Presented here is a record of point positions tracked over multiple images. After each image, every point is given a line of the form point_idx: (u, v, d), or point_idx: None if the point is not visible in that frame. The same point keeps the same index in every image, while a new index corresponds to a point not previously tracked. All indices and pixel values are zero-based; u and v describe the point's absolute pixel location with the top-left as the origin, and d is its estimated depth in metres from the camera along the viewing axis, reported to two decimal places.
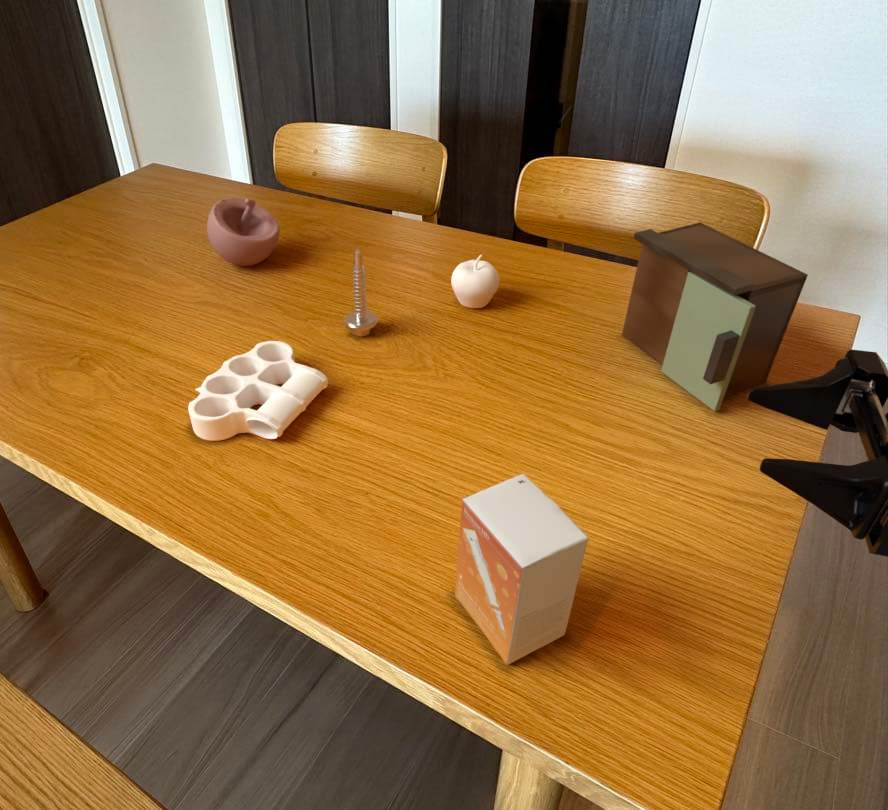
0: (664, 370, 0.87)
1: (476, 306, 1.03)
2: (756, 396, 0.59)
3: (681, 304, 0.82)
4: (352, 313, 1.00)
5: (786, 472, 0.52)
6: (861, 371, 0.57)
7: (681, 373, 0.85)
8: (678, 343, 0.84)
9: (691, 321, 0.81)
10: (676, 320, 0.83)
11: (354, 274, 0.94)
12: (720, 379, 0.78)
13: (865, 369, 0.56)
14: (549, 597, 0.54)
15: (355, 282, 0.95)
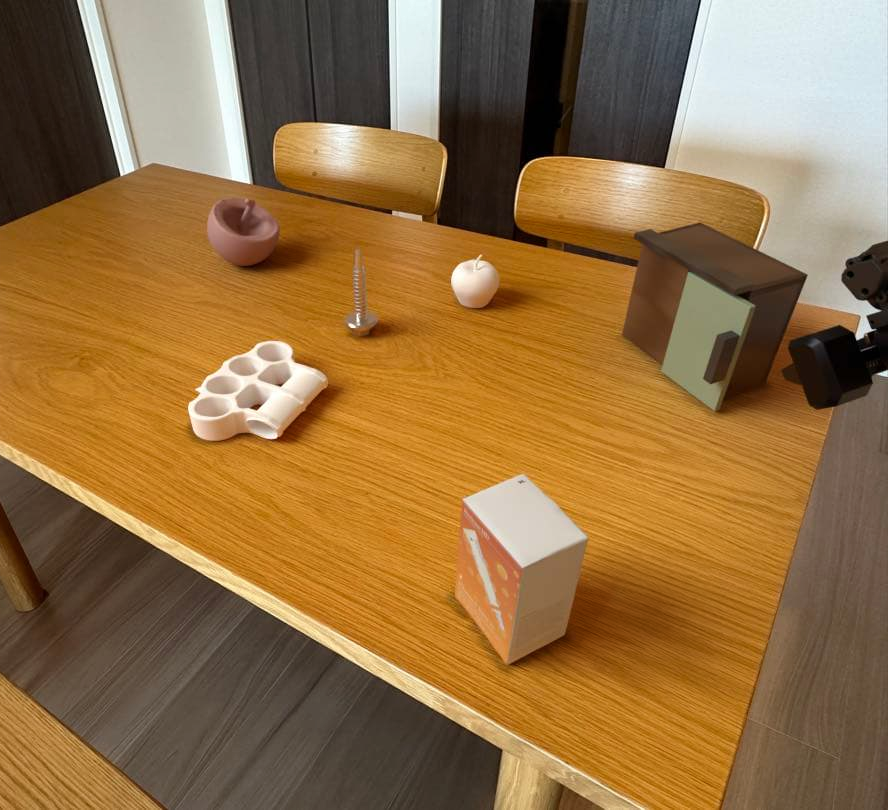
0: (664, 370, 0.87)
1: (476, 306, 1.03)
2: None
3: (681, 304, 0.82)
4: (352, 313, 1.00)
5: (791, 371, 0.65)
6: None
7: (681, 373, 0.85)
8: (678, 343, 0.84)
9: (691, 321, 0.81)
10: (676, 320, 0.83)
11: (354, 274, 0.94)
12: (720, 379, 0.78)
13: None
14: (549, 597, 0.54)
15: (355, 282, 0.95)
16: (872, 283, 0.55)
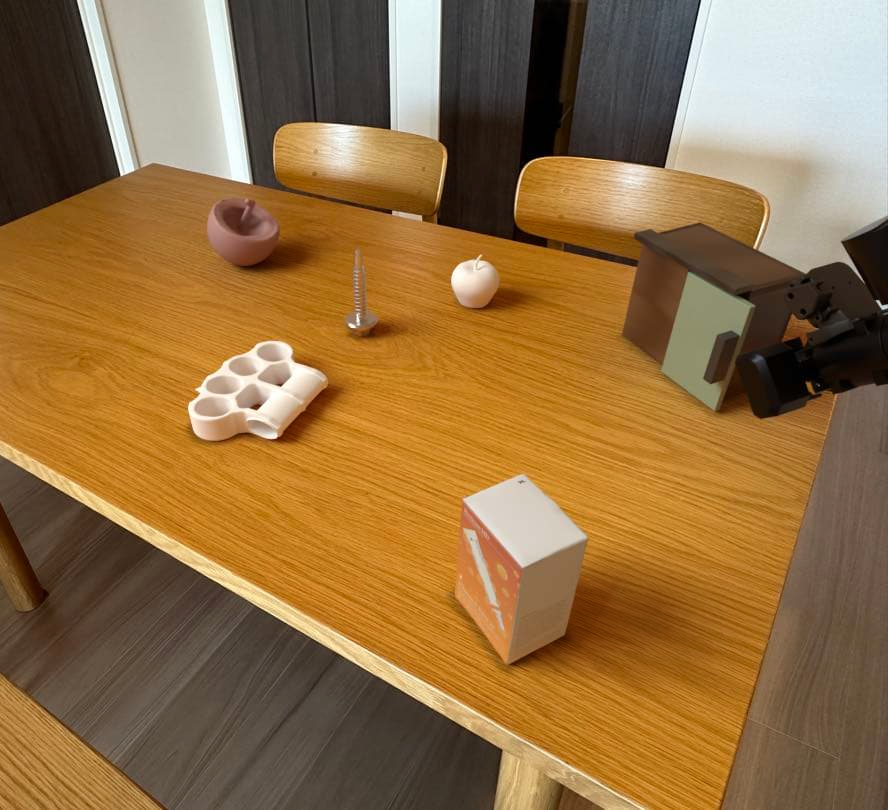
0: (664, 370, 0.87)
1: (476, 306, 1.03)
2: None
3: (681, 304, 0.82)
4: (352, 313, 1.00)
5: None
6: None
7: (681, 373, 0.85)
8: (678, 343, 0.84)
9: (691, 321, 0.81)
10: (676, 320, 0.83)
11: (354, 274, 0.94)
12: (720, 379, 0.78)
13: None
14: (549, 597, 0.54)
15: (355, 282, 0.95)
16: (809, 304, 0.61)
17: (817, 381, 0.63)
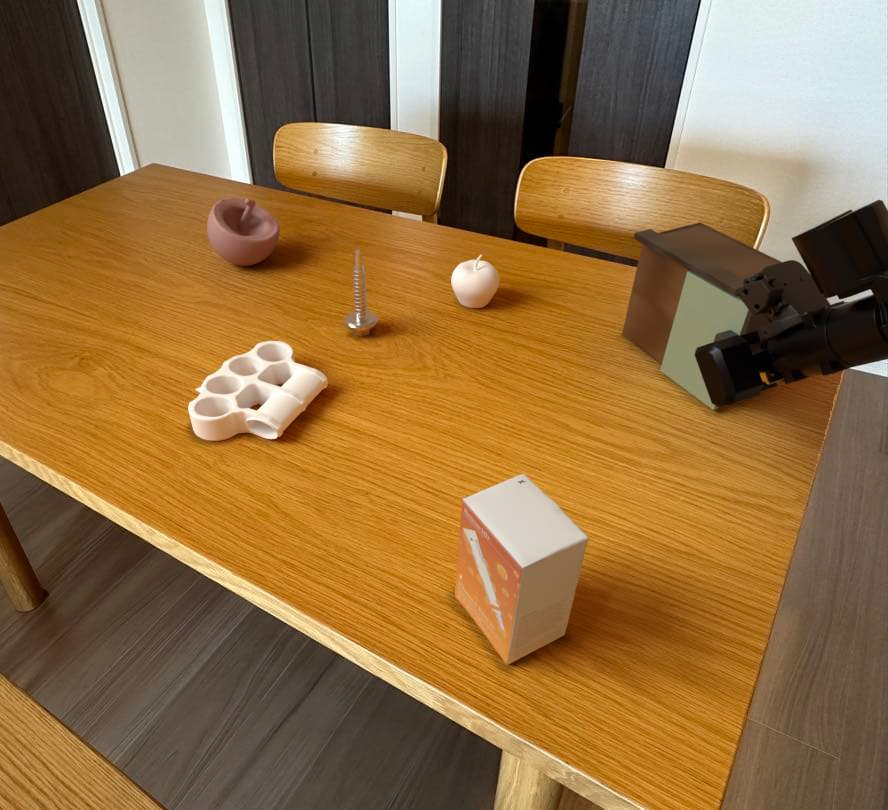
0: (663, 369, 0.87)
1: (476, 306, 1.03)
2: None
3: (680, 303, 0.82)
4: (352, 313, 1.00)
5: None
6: None
7: (680, 373, 0.85)
8: (677, 342, 0.84)
9: (690, 320, 0.81)
10: (675, 319, 0.83)
11: (354, 274, 0.94)
12: None
13: None
14: (549, 597, 0.54)
15: (355, 282, 0.95)
16: (762, 300, 0.65)
17: (771, 372, 0.68)
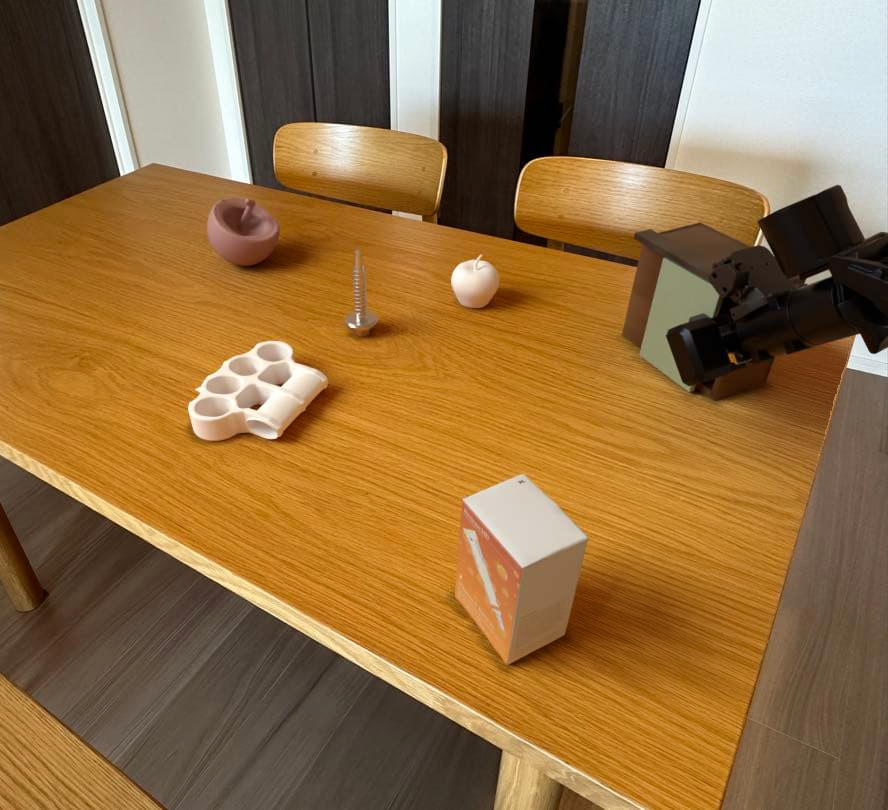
0: (642, 354, 0.90)
1: (476, 306, 1.03)
2: None
3: (657, 289, 0.85)
4: (352, 313, 1.00)
5: None
6: None
7: (658, 357, 0.88)
8: (655, 327, 0.87)
9: (666, 305, 0.84)
10: (652, 305, 0.86)
11: (354, 274, 0.94)
12: None
13: None
14: (549, 597, 0.54)
15: (355, 282, 0.95)
16: (729, 283, 0.68)
17: (740, 352, 0.71)
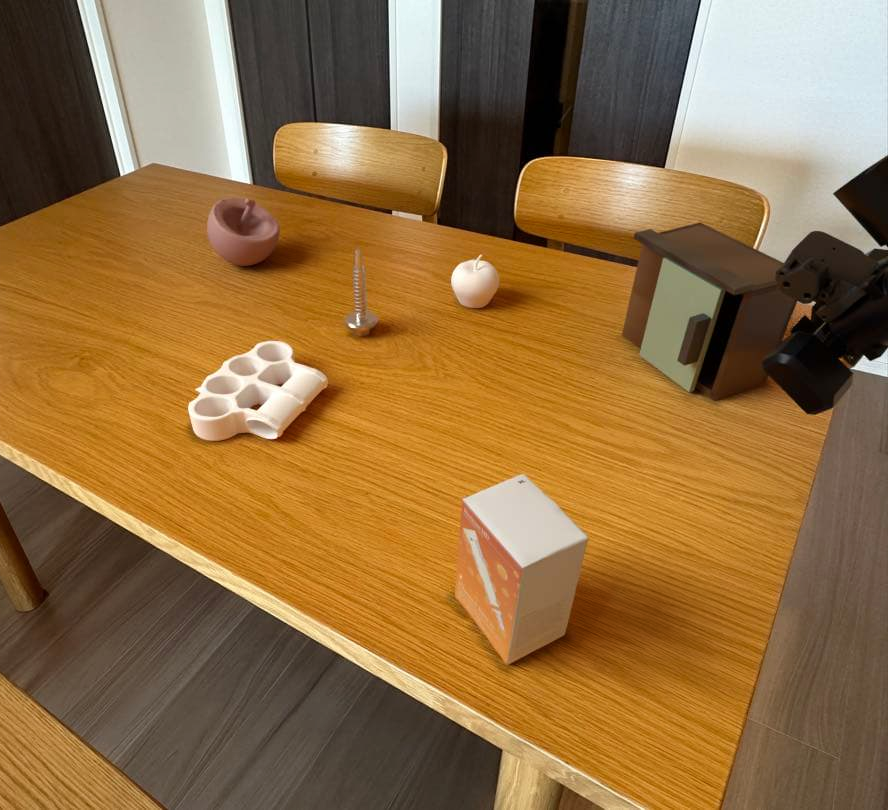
0: (642, 354, 0.90)
1: (476, 306, 1.03)
2: None
3: (657, 289, 0.85)
4: (352, 313, 1.00)
5: None
6: None
7: (658, 357, 0.88)
8: (655, 327, 0.87)
9: (666, 305, 0.84)
10: (652, 305, 0.86)
11: (354, 274, 0.94)
12: (694, 360, 0.81)
13: None
14: (549, 597, 0.54)
15: (355, 282, 0.95)
16: (811, 287, 0.57)
17: (848, 354, 0.60)
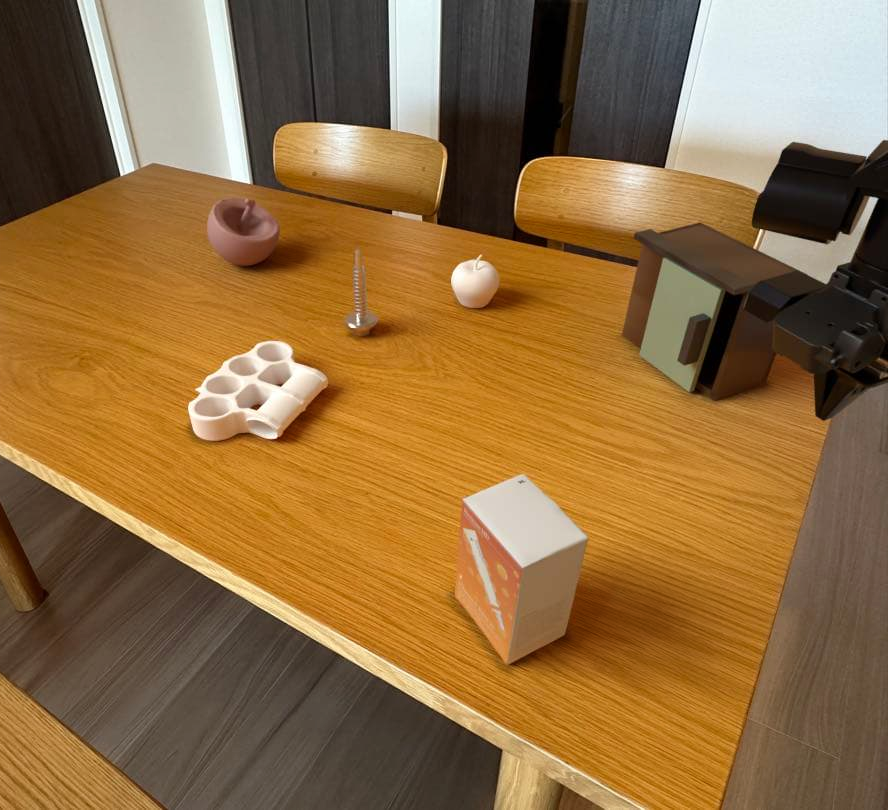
0: (642, 354, 0.90)
1: (476, 306, 1.03)
2: None
3: (657, 289, 0.85)
4: (352, 313, 1.00)
5: (836, 409, 0.61)
6: (772, 320, 0.61)
7: (658, 357, 0.88)
8: (655, 327, 0.87)
9: (666, 305, 0.84)
10: (652, 305, 0.86)
11: (354, 274, 0.94)
12: (694, 360, 0.81)
13: (771, 319, 0.61)
14: (549, 597, 0.54)
15: (355, 282, 0.95)
16: (879, 343, 0.50)
17: None
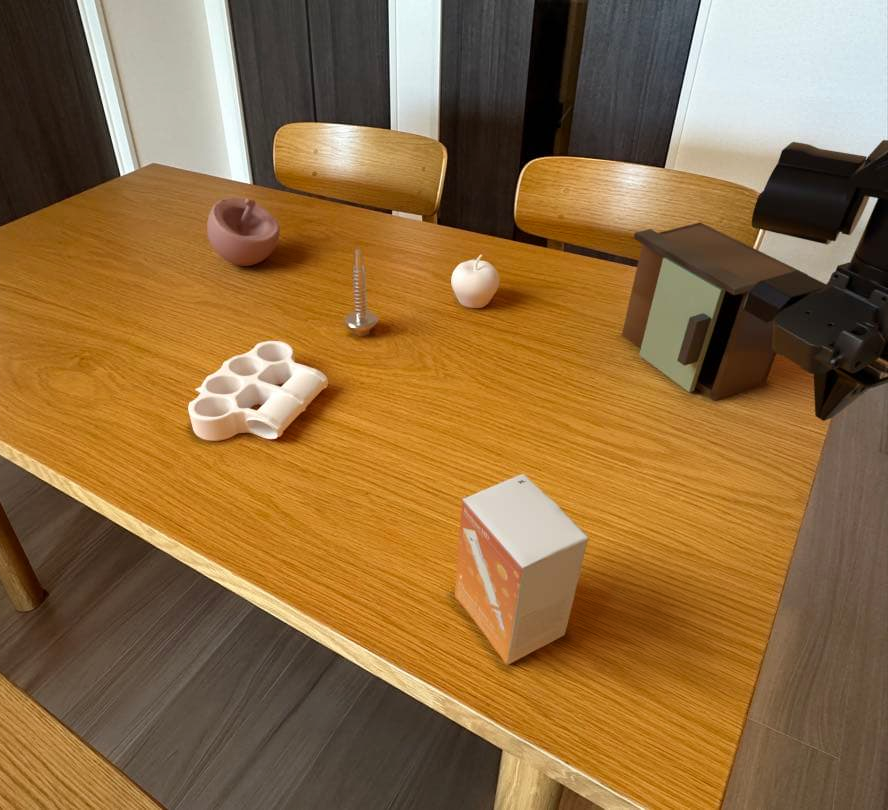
0: (642, 354, 0.90)
1: (476, 306, 1.03)
2: None
3: (657, 289, 0.85)
4: (352, 313, 1.00)
5: (836, 409, 0.61)
6: (772, 320, 0.61)
7: (658, 357, 0.88)
8: (655, 327, 0.87)
9: (666, 305, 0.84)
10: (652, 305, 0.86)
11: (354, 274, 0.94)
12: (694, 360, 0.81)
13: (771, 319, 0.61)
14: (549, 597, 0.54)
15: (355, 282, 0.95)
16: (879, 343, 0.50)
17: None
